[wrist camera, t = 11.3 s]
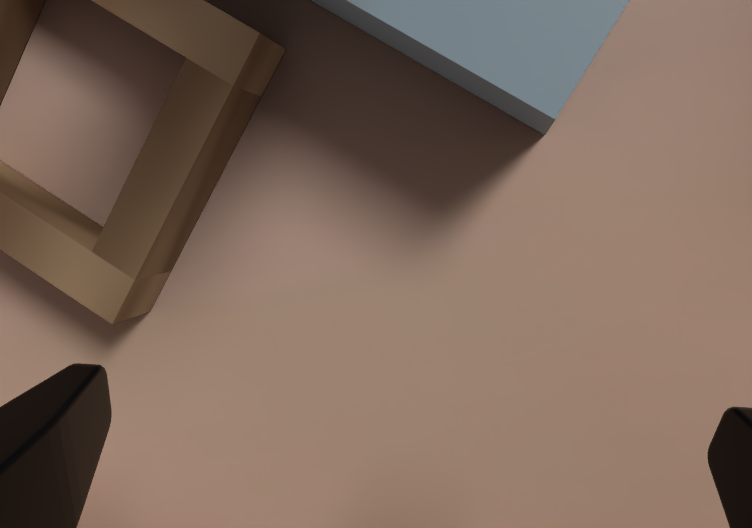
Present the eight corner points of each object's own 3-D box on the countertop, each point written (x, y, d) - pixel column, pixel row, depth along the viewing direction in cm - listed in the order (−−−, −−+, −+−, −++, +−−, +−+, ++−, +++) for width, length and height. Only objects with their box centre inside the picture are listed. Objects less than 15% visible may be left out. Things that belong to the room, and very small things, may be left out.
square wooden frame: (285, 48, 19) (259, 32, 17) (149, 311, 20) (111, 324, 18) (37, -97, 20) (-15, -129, 18) (-72, 165, 21) (-130, 163, 19)
